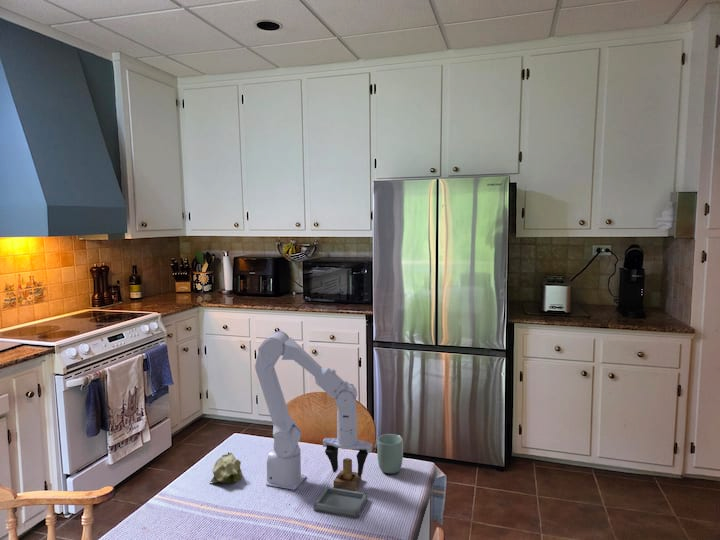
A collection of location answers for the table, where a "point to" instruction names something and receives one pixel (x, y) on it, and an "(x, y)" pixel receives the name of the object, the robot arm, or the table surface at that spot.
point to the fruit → (227, 469)
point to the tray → (341, 502)
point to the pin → (347, 469)
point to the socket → (345, 483)
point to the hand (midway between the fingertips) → (347, 472)
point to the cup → (390, 453)
